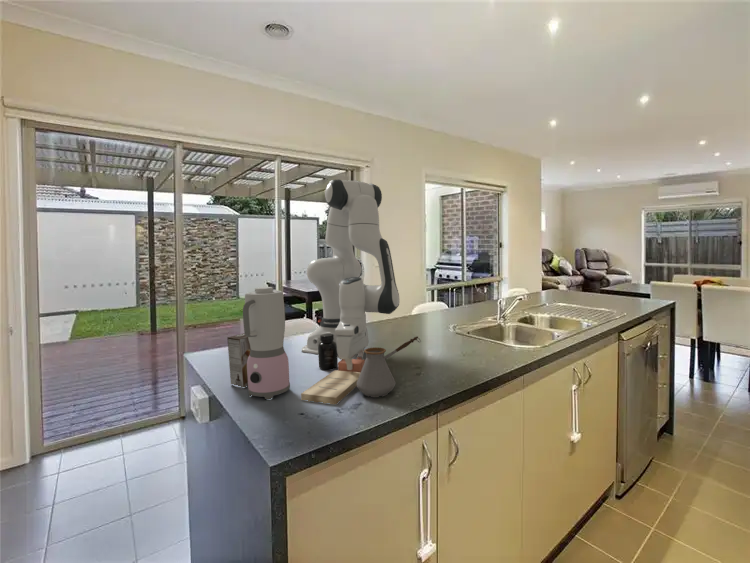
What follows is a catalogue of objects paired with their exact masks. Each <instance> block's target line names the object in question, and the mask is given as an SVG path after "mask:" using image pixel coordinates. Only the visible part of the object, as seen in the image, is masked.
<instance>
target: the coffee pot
mask: <svg viewBox="0 0 750 563" xmlns="http://www.w3.org/2000/svg"><path fill="white" fill-rule="evenodd" d="M415 341H416V342H418V343H421V342H422V341H421V339H420V338H419V336H414V337H413V338H410V339H409V340H408V341H406V342H404V343H402V344H401V345H400V346H398V347H397V348H395V349H394V350H393V351H391V352H389V353H388V354H386V355H385V352H386V351H387V349H386V348H384V347H369V348H366V349H365V348H364V354H365V359H364V360H365V363H364V365H363V368H362V370H361V373H360V375H359V378H358V381H357V387H356V388H357V389H358V390H359V391H360V392H361V393H362V394H363V395H364V396H366V395H367V396H366V397H369V396H371V397H370V398H380V397H379V396H382V397H385V396H388V395H389V394H388V393H390V392H391V391H392V390H394V388H395V385H396V380H395V379H394V376H393V374H392V372H391V369H390V368H389V365H388V362H387V361H386V360H387V359H389V358H390V357H391V356H393V355H395V354H396V353H398V352H400V351H401V350H403V349H406V348H407V347H408V346H410V344H411V343H414V342H415ZM384 395H385V396H384Z"/></svg>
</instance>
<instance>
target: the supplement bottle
mask: <svg viewBox="0 0 750 563" xmlns="http://www.w3.org/2000/svg"><path fill="white" fill-rule="evenodd" d="M333 340H334V335H333V334H322V335H320V341H321V342H320V343H319V344H318V354H317V355H318V356H317V357H318V368H319V369H320V370H322V371H323V370H324V371H331V370H336V369H338V362H339V361H338V354H337V344H336V342H334V341H333Z"/></svg>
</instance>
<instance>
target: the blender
mask: <svg viewBox="0 0 750 563" xmlns="http://www.w3.org/2000/svg"><path fill="white" fill-rule="evenodd" d="M285 311H286V310H285V302H284V292H283V291H281V290H278V289H277V290H274V288H273V286H260V287H259V286H258V287H255V288H254V291H250V292H249V291H248V292H246V293H245V294H244V305H243V307H242V320H243V321H242V322H243V331H244V333H245V335H246V336H247V337H248V339H249V343H250V348H251V351H250V355H249V357H248V360H247V376H248V387H247V390H248V397H249V396H251V395H252V397H253V396H254V397H264V400H265V399H271V398H273V399H274V396H278V395H280V394H284V393H286V392H288V391H289V390H290V389H291V383H290V365H289V357H288V355H287V353H286V351H285V348H284V338H285V332H286V330H285V329H286V312H285Z"/></svg>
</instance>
